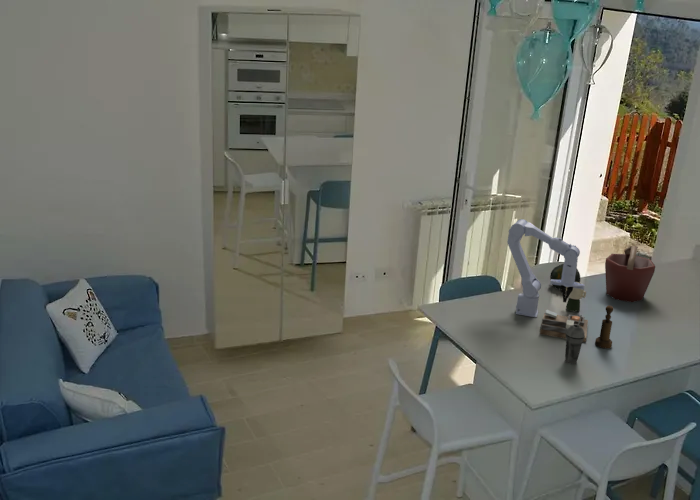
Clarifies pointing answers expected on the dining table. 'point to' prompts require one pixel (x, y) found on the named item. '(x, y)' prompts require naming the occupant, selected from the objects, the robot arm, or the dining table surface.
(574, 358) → the beverage cup
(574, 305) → the character mug
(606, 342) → the brown chess piece
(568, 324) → the slider knob
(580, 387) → the dining table surface
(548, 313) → the grey flat tile
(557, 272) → the squash
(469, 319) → the dining table surface
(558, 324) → the panel
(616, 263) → the bucket
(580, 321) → the push button
